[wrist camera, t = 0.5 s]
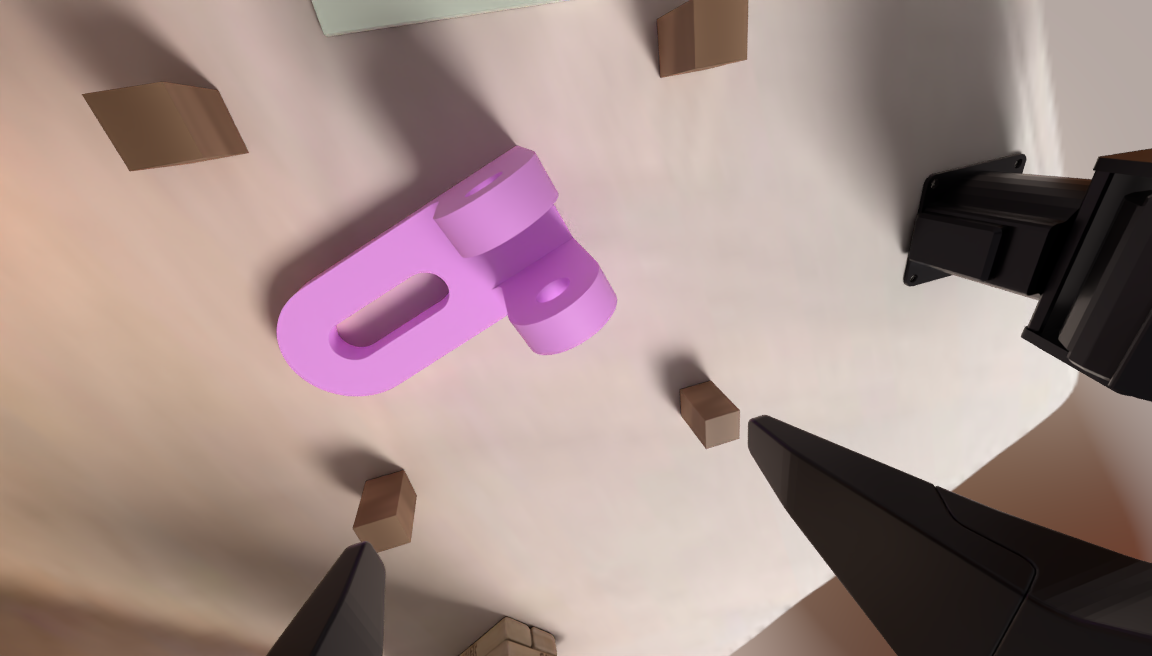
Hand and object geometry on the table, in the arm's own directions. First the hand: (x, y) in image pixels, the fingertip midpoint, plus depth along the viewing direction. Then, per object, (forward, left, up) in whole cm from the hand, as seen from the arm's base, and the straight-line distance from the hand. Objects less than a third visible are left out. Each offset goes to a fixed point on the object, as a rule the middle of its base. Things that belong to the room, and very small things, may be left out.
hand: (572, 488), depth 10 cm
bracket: (+4, -2, -12) cm, 13 cm away
